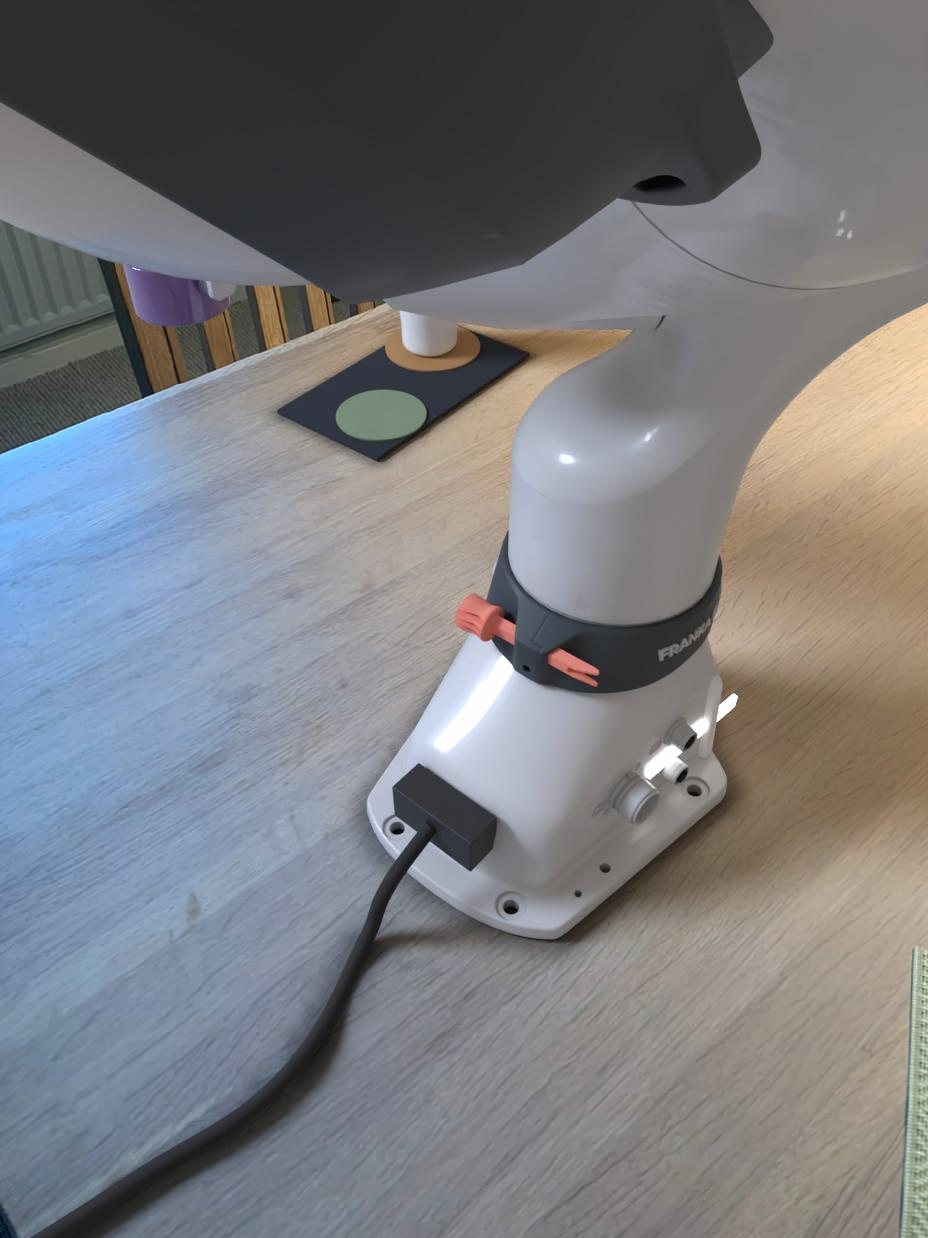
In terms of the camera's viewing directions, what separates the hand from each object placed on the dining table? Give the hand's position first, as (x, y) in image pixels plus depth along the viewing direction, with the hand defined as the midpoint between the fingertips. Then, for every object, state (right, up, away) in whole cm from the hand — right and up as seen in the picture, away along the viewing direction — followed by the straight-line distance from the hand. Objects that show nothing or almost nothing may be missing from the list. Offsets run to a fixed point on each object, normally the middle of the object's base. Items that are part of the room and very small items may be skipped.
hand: (177, 277), depth 61 cm
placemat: (+12, +1, +31) cm, 34 cm away
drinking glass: (+14, +5, +35) cm, 38 cm away
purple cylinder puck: (0, -1, +1) cm, 2 cm away
